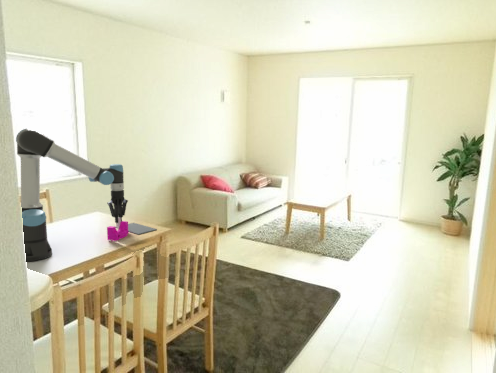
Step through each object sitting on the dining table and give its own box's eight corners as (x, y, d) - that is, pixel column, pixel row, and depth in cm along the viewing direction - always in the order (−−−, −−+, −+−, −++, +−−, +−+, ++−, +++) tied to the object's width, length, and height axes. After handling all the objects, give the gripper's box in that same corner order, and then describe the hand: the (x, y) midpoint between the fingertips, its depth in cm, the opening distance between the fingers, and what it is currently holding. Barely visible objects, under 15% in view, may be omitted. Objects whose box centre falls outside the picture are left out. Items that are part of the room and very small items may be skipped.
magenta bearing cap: (116, 240, 210) (116, 228, 208) (107, 239, 211) (107, 227, 210) (131, 233, 224) (131, 221, 223) (123, 232, 226) (122, 221, 224)
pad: (138, 234, 221) (138, 233, 221) (115, 227, 236) (115, 226, 236) (156, 230, 232) (156, 229, 232) (133, 223, 247) (133, 222, 247)
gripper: (111, 191, 213) (112, 231, 216) (130, 189, 223) (131, 226, 227) (103, 190, 217) (105, 228, 221) (123, 187, 227) (124, 224, 231)
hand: (118, 227), depth 224 cm, fingers closed
